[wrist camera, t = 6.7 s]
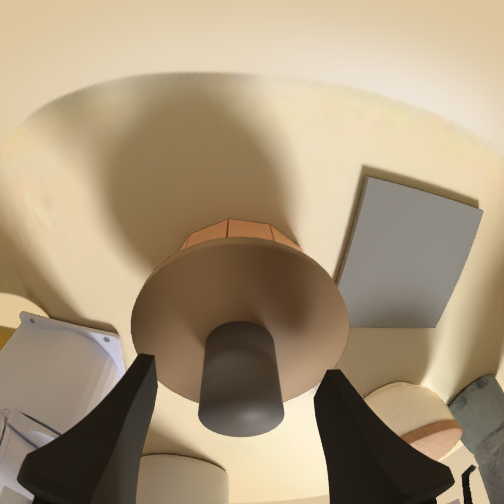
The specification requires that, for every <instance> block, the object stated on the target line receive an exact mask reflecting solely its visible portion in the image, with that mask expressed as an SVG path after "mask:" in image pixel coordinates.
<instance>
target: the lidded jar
mask: <svg viewBox="0 0 504 504" xmlns="http://www.w3.org/2000/svg"><path fill="white" fill-rule="evenodd" d="M363 400H364V401H365V402H366V403H367V405H368V406H369V407H370V408H371V409H372V410H373V412H374V413H375V414H376V415H377V416H378V417H379V418H380V419H381V420H382V421H383V422H384V423H385V424H386V425H387V426H388V427H389V428H390V429H391V430H392V431H393V432H395V433H396V434H397V435H398V436H399V437H400V438H402V439H403V440H404V441H406V442H407V443H408V444H410V445H411V446H412V447H414V448H415V449H417V450H418V451H420V452H421V453H423V454H425V455H426V456H428V457H430V458H431V459H433V460H435V461H437V460H439V459H440V458H441V457H443V456H444V455H445V454H446V453H448V452H449V451H450V450H451V449H452V448H453V447H454V446H455V445H456V443H457V442H458V441H459V439H460V438H461V435H462V428H461V426H460V425H459V423H458V422H457V421H456V420H455V418H454V416H453V414H452V413H451V411H450V409H449V408H448V406H447V405H446V404H445V402H444V401H443V400H442V399H441V398H440V397H439V396H438V395H437V394H436V393H434V392H433V391H431V390H430V389H428V388H426V387H423V386H420V385H414V384H409V383H407V382H394V383H390V384H387V385H385V386H382V387H380V388H378V389H376V390H375V391H373V392H371V393H370V394H369V395H367V396H366V397H365V398H364V399H363Z"/></svg>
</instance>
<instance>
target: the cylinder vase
mask: <svg viewBox="0 0 504 504" xmlns="http://www.w3.org/2000/svg"><path fill="white" fill-rule="evenodd" d="M136 504H229V478H228V475H227V474H226V472H225V471H223V470H222V469H221V468H219V467H217V466H216V465H213V464H211V463H208V462H206V461H202V460H199V459H195V458H190V457H185V456H178V455H168V454H154V455H147V456H143V457H141V460H140V467H139V474H138V483H137V494H136Z"/></svg>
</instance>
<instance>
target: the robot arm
mask: <svg viewBox="0 0 504 504" xmlns="http://www.w3.org/2000/svg"><path fill="white" fill-rule="evenodd" d="M20 319H21V322H22V323H21V324H20V326H19V327H18V328H17V330H16V331H15V332H14V333H13V335H12V336H11V337H10V339H9V340H8V342H7V343H6V344H5V346H4V347H3V348H2V350H1V351H0V504H136V494H137V483H138V474H139V467H140V460H141V454H142V450H143V446H144V442H145V438H146V435H147V431H148V428H149V424H150V421H151V417H152V414H153V410H154V406H155V400H156V394H157V388H158V383H157V374H156V363H155V355H149V354H144V353H140V354H138V356H137V357H136V359H135V360H134V362H133V363H132V365H131V366H130V367H129V369H128V370H127V371H126V369H125V364H124V358H123V352H122V346H121V340H120V337H119V336H118V335H117V334H116V333H112V332H107V331H102V330H97V329H93V328H88V327H84V326H79V325H75V324H71V323H66V322H62V321H58V320H54V319H50V318H47V317H43V316H39V315H36V314H32V313H28V312H25V311H22V312H21V313H20ZM106 337H107V338H106ZM108 338H109V339H108ZM314 408H315V417H316V422H317V426H318V430H319V434H320V438H321V442H322V446H323V451H324V455H325V459H326V464H327V472H328V481H329V495H330V504H437V501H436V497H437V496H439V495H440V494H442V493H443V492H445V491H446V490H448V489H449V488H450V487H452V486H453V485H454V483H455V480H454V478H453V475H452V473H451V470H450V468H449V467H448V466H446V465H444V464H441V463H439V462H437V461H435V460H433V459H431V458H430V457H428V456H426V455H425V454H423V453H421V452H420V451H418V450H417V449H415V448H414V447H412V446H411V445H410V444H408V443H407V442H406V441H404V440H403V439H402V438H400V437H399V436H398V435H397V434H396V433H395V432H393V431H392V430H391V429H390V428H389V427H388V426H387V425H386V424H385V423H384V422H383V421H382V420H381V419H380V418H379V417H378V416H377V415H376V414H375V413H374V412H373V410H372V409H371V408H370V407H369V406H368V405H367V403H366V402H365V401H364V400H363V399H362V397H361V396H360V395H359V394H358V392H357V391H356V390H355V388H354V387H353V386H352V385H351V383H350V382H349V381H348V379H347V378H346V377H345V375H344V374H343V373H342V372H341V370H340V369H327V371H326V373H325V375H324V377H323V379H322V381H321V383H320V386H319V388H318V390H317V392H316V394H315V396H314ZM448 504H460V502H459V499H457V500H454V501H452V502H450V503H448Z"/></svg>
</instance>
